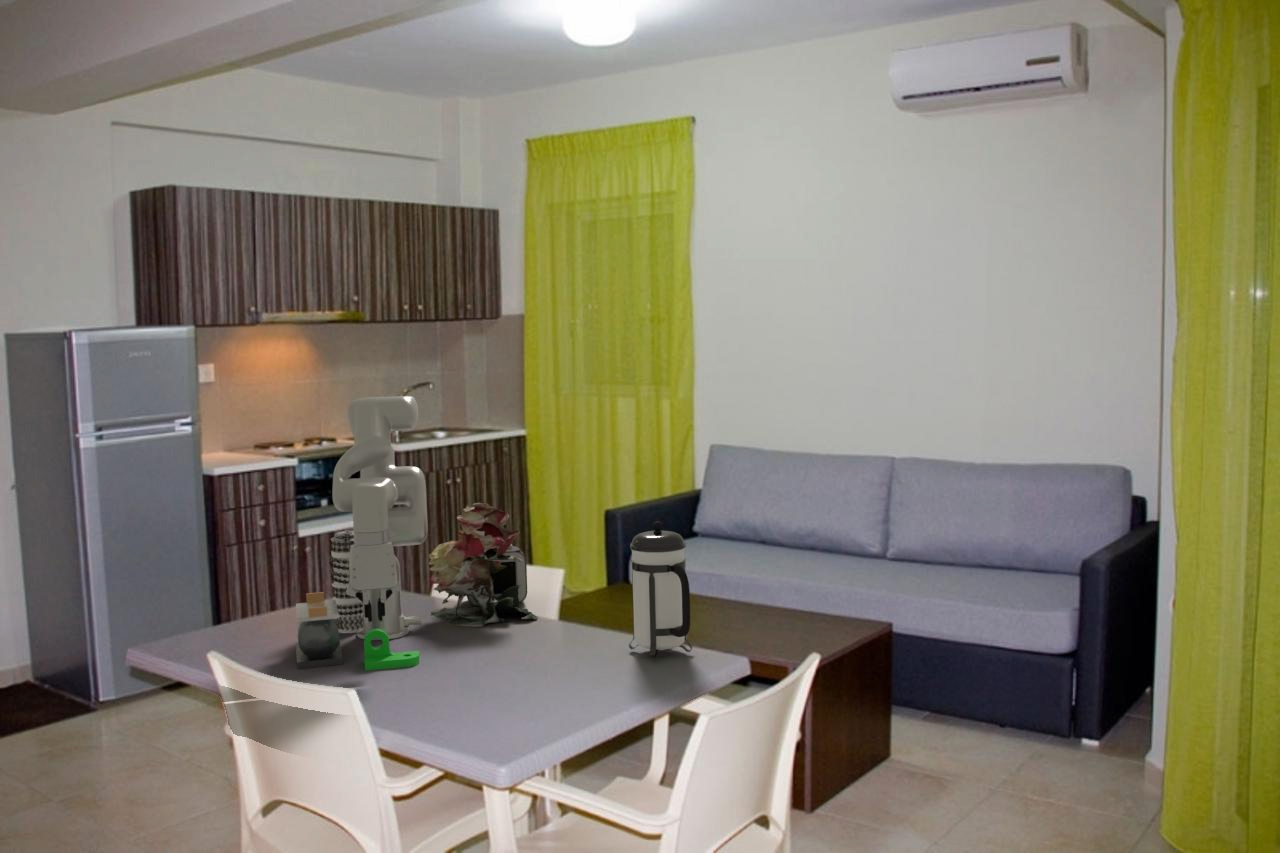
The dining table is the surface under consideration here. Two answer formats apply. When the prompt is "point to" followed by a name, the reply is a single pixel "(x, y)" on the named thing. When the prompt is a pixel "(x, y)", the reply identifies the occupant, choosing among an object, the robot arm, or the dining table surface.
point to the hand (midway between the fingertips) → (375, 619)
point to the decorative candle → (344, 584)
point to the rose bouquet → (476, 568)
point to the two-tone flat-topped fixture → (317, 633)
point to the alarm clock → (508, 575)
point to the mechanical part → (385, 653)
